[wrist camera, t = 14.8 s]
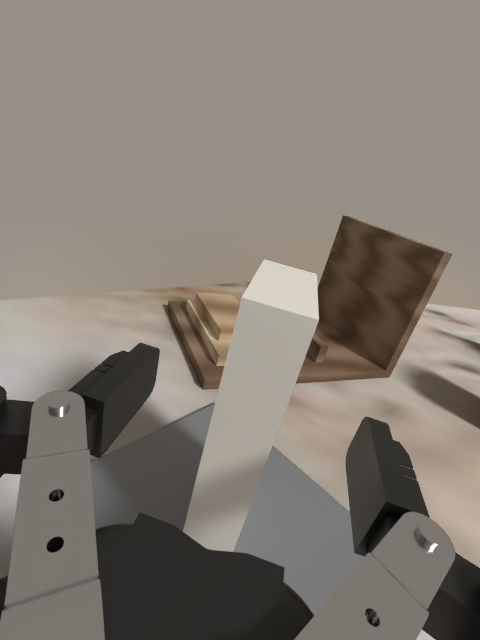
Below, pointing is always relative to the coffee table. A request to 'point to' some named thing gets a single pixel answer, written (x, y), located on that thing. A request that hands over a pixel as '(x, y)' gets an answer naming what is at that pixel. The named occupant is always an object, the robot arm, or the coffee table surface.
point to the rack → (334, 308)
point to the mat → (263, 515)
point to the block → (251, 399)
